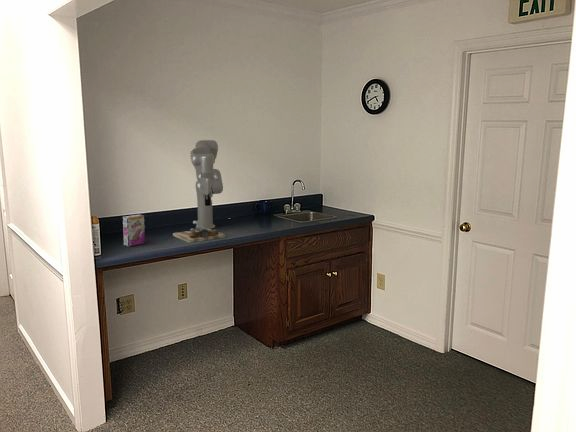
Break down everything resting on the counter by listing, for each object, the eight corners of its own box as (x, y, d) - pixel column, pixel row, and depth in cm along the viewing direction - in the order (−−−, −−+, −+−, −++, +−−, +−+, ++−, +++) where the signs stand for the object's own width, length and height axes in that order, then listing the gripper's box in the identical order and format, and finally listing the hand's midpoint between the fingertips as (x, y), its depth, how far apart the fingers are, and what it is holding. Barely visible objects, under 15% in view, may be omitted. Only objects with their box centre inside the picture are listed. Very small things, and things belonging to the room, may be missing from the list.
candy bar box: (128, 247, 272) (127, 217, 269) (123, 245, 275) (121, 216, 272) (146, 243, 280) (144, 215, 277) (140, 242, 283) (139, 214, 280)
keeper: (202, 238, 287) (202, 230, 286) (195, 235, 294) (195, 227, 293) (207, 237, 289) (207, 229, 289) (201, 234, 296) (200, 227, 295)
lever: (191, 238, 286) (191, 230, 285) (188, 236, 289) (188, 228, 288) (218, 234, 296) (218, 226, 295) (215, 232, 300) (215, 225, 299)
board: (189, 242, 282) (189, 240, 282) (172, 235, 300) (172, 233, 300) (226, 237, 297) (226, 234, 296) (208, 230, 314) (208, 228, 314)
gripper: (195, 174, 300) (196, 204, 304) (207, 177, 289) (208, 208, 293) (206, 173, 305) (207, 202, 309) (218, 176, 293) (219, 206, 297)
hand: (207, 205), depth 301 cm, fingers closed
